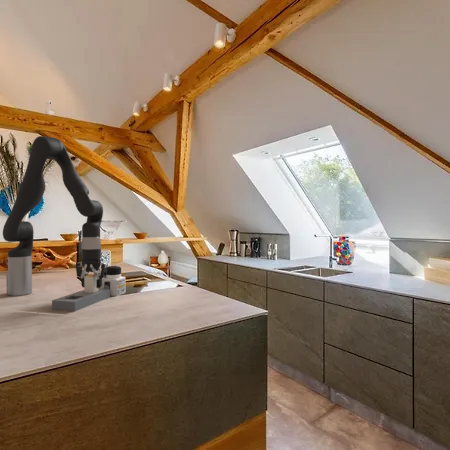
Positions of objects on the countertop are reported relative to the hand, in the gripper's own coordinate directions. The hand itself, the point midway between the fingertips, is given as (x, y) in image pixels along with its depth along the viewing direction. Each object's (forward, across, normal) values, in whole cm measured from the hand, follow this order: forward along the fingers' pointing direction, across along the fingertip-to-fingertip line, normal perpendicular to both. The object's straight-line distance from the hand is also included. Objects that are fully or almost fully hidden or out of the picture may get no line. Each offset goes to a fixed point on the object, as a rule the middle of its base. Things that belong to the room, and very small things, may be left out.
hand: (91, 287), depth 135 cm
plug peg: (+5, 0, 0) cm, 5 cm away
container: (+6, +3, +12) cm, 13 cm away
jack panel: (+6, 0, -6) cm, 8 cm away
